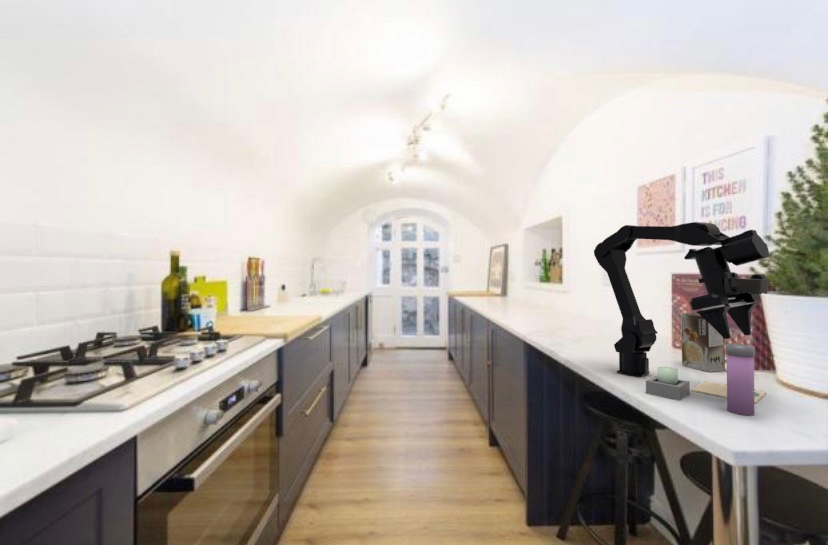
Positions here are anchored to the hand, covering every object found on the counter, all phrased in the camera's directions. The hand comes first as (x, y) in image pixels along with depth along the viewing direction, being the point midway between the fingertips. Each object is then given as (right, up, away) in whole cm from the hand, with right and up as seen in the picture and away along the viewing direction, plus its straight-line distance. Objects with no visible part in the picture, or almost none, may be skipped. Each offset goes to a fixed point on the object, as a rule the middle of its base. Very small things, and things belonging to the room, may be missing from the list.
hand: (738, 336), depth 89 cm
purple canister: (-6, -14, -8) cm, 17 cm away
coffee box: (+13, -14, +28) cm, 34 cm away
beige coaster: (+2, -14, +5) cm, 15 cm away
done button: (-13, -12, +4) cm, 19 cm away
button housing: (-13, -14, +4) cm, 20 cm away
